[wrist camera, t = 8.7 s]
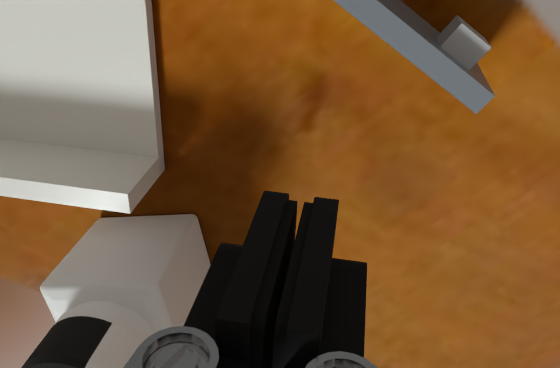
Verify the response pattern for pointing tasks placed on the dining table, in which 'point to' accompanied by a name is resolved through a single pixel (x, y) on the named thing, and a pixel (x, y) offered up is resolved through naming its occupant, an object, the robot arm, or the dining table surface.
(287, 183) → the dining table surface
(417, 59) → the side door
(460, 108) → the dining table surface
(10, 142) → the case
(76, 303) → the medicine bottle
